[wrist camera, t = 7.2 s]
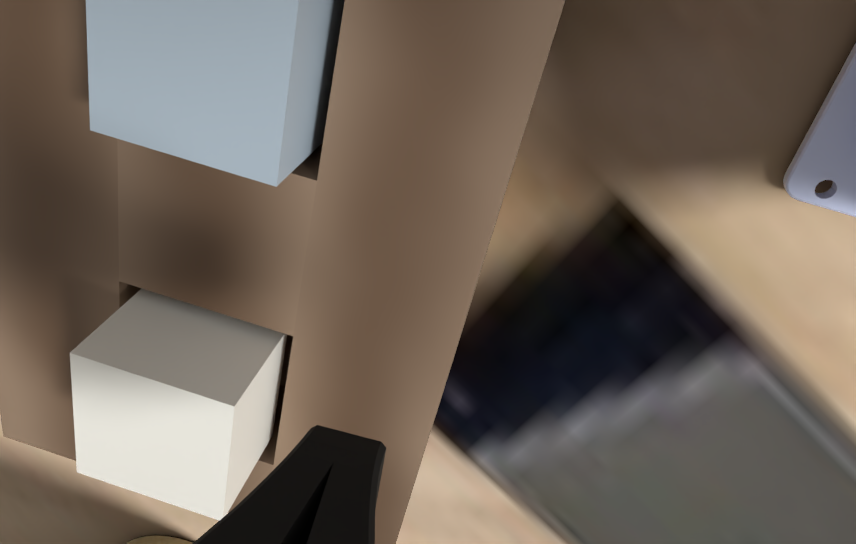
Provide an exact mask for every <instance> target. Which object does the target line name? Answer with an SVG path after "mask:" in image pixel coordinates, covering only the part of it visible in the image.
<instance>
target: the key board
mask: <svg viewBox="0 0 856 544" xmlns="http://www.w3.org/2000/svg"><path fill="white" fill-rule="evenodd" d="M564 3H565V0H345V2H344V8H343V15H342V21H341V28H340V34H339V41H338V47H337V54H336V60H335V67H334V73H333V80H332V86H331V93H330V99H329V106H328V112H327V119H326V125H325V132H324V139H323V143H322V144H321V145H320V146H319V147H318V148H317V149H316V150H315V151H313V152H312V153H311V154H310V155H309V156H308V157H307V158H306V159H305V160H304V161H303V162H302V163H301V164H300V165H299V166H298V167H297V168H296V169H295V170H294V171H292V172H291V173H290V174H289V175H288V176H287V177H286V178H285V179H284V180H283V181H282V182H281V183H280V184H279V185H278V186H277V187H275V186H272V185H269V184H265V183H262V182H259V181H256V180H252V179H249V178H246V177H242V176H239V175H236V174H233V173H229V172H226V171H223V170H219V169H216V168H213V167H209V166H206V165H203V164H200V163H196V162H193V161H190V160H186V159H183V158H180V157H176V156H173V155H170V154H167V153H163V152H160V151H157V150H153V149H150V148H147V147H144V146H140V145H137V144H134V143H130V142H127V141H124V140H120V139H117V138H114V137H111V136H107V135H104V134H101V133H97V132H94V131H91V130H90V114H89V84H88V54H87V24H86V0H0V414H1V422H2V429H3V436H4V437H7V438H10V439H13V440H16V441H19V442H22V443H25V444H28V445H31V446H34V447H37V448H40V449H43V450H46V451H49V452H52V453H55V454H58V455H61V456H64V457H67V458H69V459H72V460H75V461H76V449H75V432H74V416H73V399H72V383H71V366H70V352H71V351H72V350H73V349H74V348H76V347H77V346H78V345H79V344H80V343H81V342H82V341H83V340H85V339H86V338H87V337H88V336H89V335H90V334H91V333H92V332H93V331H95V330H96V329H97V328H98V327H99V326H100V325H101V324H102V323H104V322H105V321H106V320H107V319H108V318H109V317H110V316H111V315H113V314H114V313H115V312H116V311H117V310H118V309H119V308H120V307H121V306H123V305H124V304H125V303H126V302H127V301H128V300H129V299H130V298H132V297H133V296H134V295H135V294H136V293H137V292H138V291H139V290H140V289H145V290H149V291H152V292H155V293H158V294H161V295H164V296H167V297H171V298H174V299H177V300H180V301H183V302H186V303H189V304H193V305H196V306H199V307H202V308H205V309H208V310H212V311H215V312H218V313H221V314H224V315H227V316H230V317H234V318H237V319H240V320H243V321H246V322H249V323H252V324H256V325H259V326H262V327H265V328H268V329H271V330H274V331H278V332H281V333H284V334H287V339H286V346H285V353H284V360H283V366H282V373H281V380H280V387H279V394H278V400H277V407H276V414H275V421H274V427H273V434H272V437H271V439H270V441H269V443H268V444H267V446H266V448H265V449H264V451H263V453H262V455H261V456H260V458H259V460H258V461H257V463H256V465H255V467H254V468H253V470H252V472H251V473H250V475H249V477H248V479H247V480H246V482H245V484H244V485H243V487H242V489H241V491H240V492H239V494H238V496H237V497H236V499H235V501H234V503H233V504H232V506H231V508H230V509H229V511H228V512H230V511H231V510H232V509H234V508H235V507H236V506H237V505H238V504H239V503H240V502H241V501H242V500H243V499H244V498H245V497H246V496H247V495H248V494H249V493H250V492H252V491H253V490H254V489H255V488H256V487H257V486H258V485H259V484H260V483H261V482H262V481H263V480H264V479H265V478H266V477H267V476H268V475H269V474H270V473H271V472H272V471H273V470H274V469H275V468H276V467H277V466H278V465H279V464H280V463H281V462H282V461H283V460H284V458H285V457H286V456H287V455H288V454H289V453H290V452H291V451H292V450H293V449H294V448H295V446H296V445H297V444H298V443H299V442H300V441H301V439H302V438H303V437H304V436H305V435H306V433H307V432H308V431H309V430H310V429H311V428H312V427H314V426H316V425H320V426H324V427H328V428H331V429H335V430H339V431H343V432H347V433H350V434H354V435H358V436H362V437H366V438H370V439H373V440H377V441H381V442H382V443H383V444H384V446H385V447H386V453H385V458H384V464H383V469H382V475H381V481H380V486H379V492H378V497H377V503H376V508H375V544H396V541H397V537H398V534H399V531H400V528H401V525H402V521H403V518H404V515H405V512H406V509H407V505H408V502H409V499H410V496H411V493H412V489H413V486H414V483H415V480H416V477H417V473H418V470H419V467H420V464H421V461H422V457H423V454H424V451H425V448H426V445H427V442H428V438H429V435H430V432H431V429H432V426H433V422H434V419H435V416H436V413H437V410H438V406H439V403H440V400H441V397H442V394H443V390H444V387H445V384H446V381H447V378H448V374H449V371H450V368H451V365H452V362H453V358H454V355H455V352H456V349H457V346H458V342H459V339H460V336H461V333H462V330H463V326H464V323H465V320H466V317H467V314H468V310H469V307H470V304H471V301H472V298H473V294H474V291H475V288H476V285H477V282H478V278H479V275H480V272H481V269H482V266H483V262H484V259H485V256H486V253H487V250H488V246H489V243H490V240H491V237H492V234H493V230H494V227H495V224H496V221H497V218H498V214H499V211H500V208H501V205H502V202H503V198H504V195H505V192H506V189H507V186H508V182H509V179H510V176H511V173H512V170H513V166H514V163H515V160H516V157H517V154H518V150H519V147H520V144H521V141H522V138H523V134H524V131H525V128H526V125H527V122H528V118H529V115H530V112H531V109H532V106H533V102H534V99H535V96H536V93H537V90H538V86H539V83H540V80H541V77H542V74H543V70H544V67H545V64H546V61H547V58H548V54H549V51H550V48H551V45H552V42H553V38H554V35H555V32H556V29H557V26H558V22H559V19H560V16H561V13H562V10H563V7H564Z"/></svg>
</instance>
